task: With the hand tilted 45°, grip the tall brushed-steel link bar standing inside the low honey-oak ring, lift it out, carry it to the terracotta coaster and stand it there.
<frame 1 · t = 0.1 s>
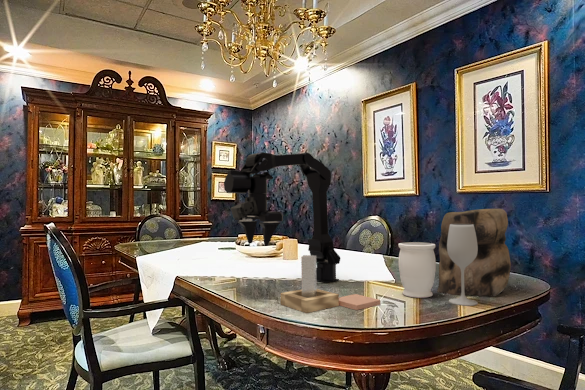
hand: (257, 244, 122), 15 cm above the table, tool pointing down, fingers open, 9 cm apart
mug: (474, 290, 122), on the table
coaster: (356, 303, 106), on the table
wineglass: (463, 303, 107), on the table
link: (309, 280, 106), in the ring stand
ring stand: (309, 305, 105), on the table
jar: (417, 295, 116), on the table
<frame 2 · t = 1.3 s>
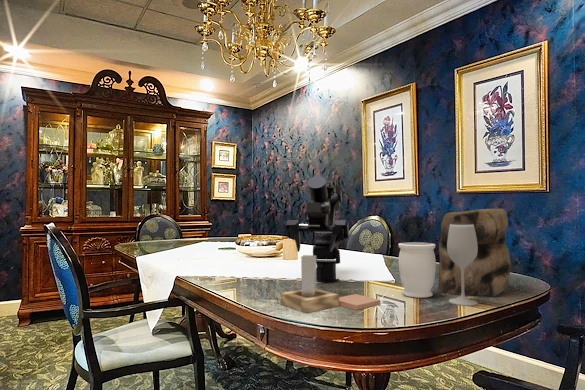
hand: (313, 251, 113), 13 cm above the table, tool tilted 45°, fingers open, 9 cm apart
nothing on the table moved.
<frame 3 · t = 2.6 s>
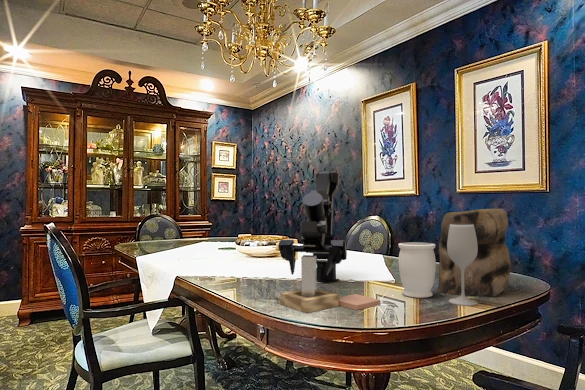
hand: (308, 274, 105), 8 cm above the table, tool tilted 45°, fingers open, 9 cm apart
nothing on the table moved.
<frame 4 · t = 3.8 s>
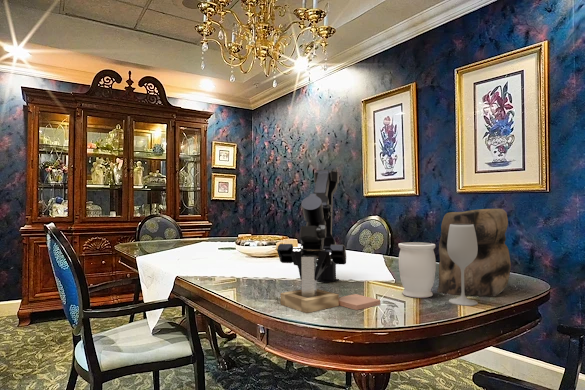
hand: (308, 279, 104), 7 cm above the table, tool tilted 45°, fingers closed on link, 3 cm apart
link: (309, 280, 106), in the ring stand, touching gripper
everything else where it was.
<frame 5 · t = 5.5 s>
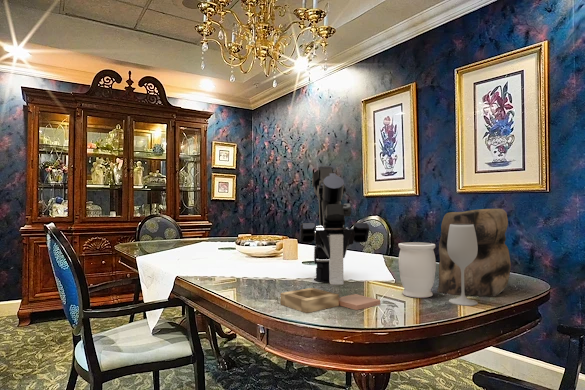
hand: (336, 257, 104), 13 cm above the table, tool tilted 45°, fingers closed on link, 3 cm apart
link: (336, 258, 106), point 12 cm above the table, touching gripper
everything else where it was.
when the fingers open (9 cm above the table, at t = 7.2 s): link stays where it is, resting on coaster.
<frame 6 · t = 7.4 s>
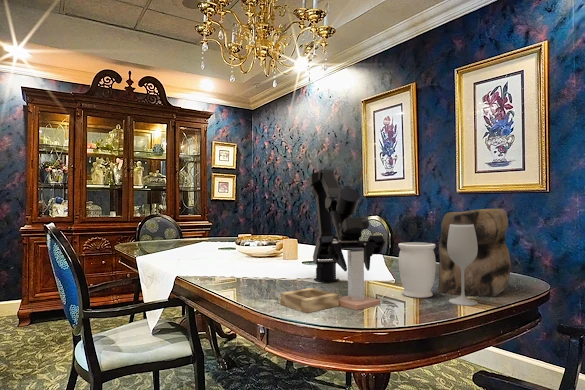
hand: (357, 270, 105), 9 cm above the table, tool tilted 45°, fingers open, 6 cm apart
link: (355, 275, 106), on the coaster, point 8 cm above the table
everything else where it was.
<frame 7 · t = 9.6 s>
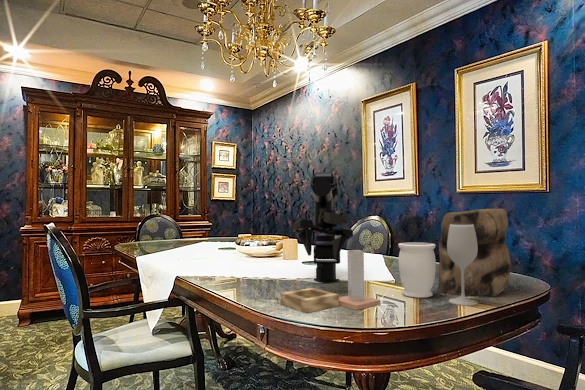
hand: (323, 257, 119), 11 cm above the table, tool tilted 20°, fingers open, 9 cm apart
nothing on the table moved.
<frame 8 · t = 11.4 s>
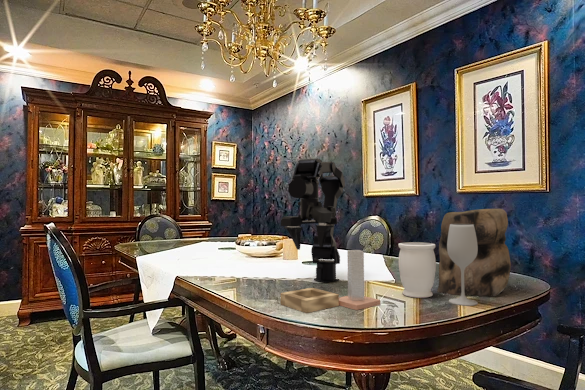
hand: (310, 248, 124), 13 cm above the table, tool pointing down, fingers open, 9 cm apart
nothing on the table moved.
at the end: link inside the target area on the coaster (0.0 cm from its centre), point 7.7 cm above the coaster's base; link tilted 0°; the gripper is holding nothing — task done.
